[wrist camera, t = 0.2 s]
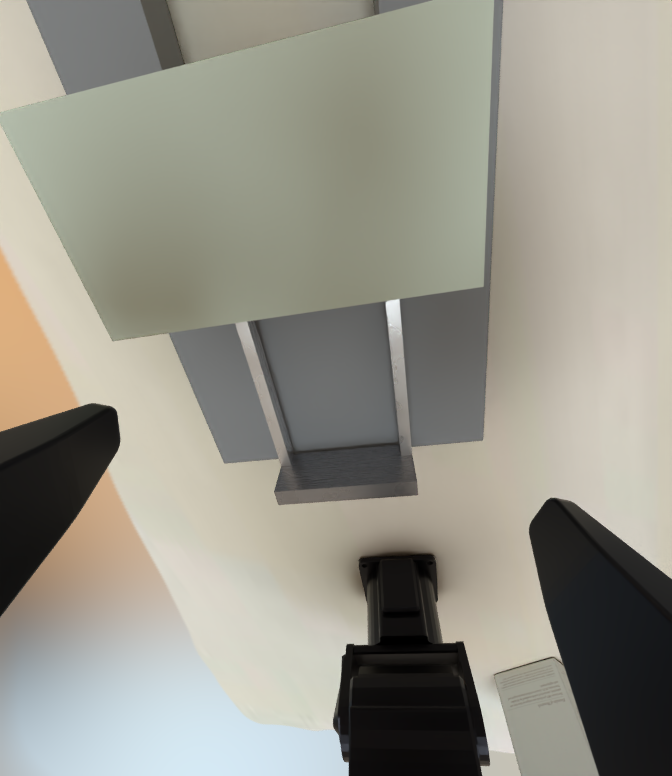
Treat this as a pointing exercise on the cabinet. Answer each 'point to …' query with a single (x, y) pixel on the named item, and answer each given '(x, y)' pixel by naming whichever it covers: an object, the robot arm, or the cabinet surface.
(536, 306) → the cabinet surface
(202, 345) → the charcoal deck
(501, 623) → the cabinet surface
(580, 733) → the supplement box
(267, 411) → the silver flat rectangular frame
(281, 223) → the pale green tunnel
